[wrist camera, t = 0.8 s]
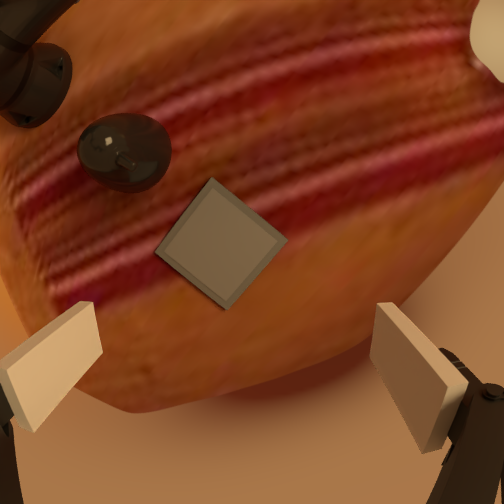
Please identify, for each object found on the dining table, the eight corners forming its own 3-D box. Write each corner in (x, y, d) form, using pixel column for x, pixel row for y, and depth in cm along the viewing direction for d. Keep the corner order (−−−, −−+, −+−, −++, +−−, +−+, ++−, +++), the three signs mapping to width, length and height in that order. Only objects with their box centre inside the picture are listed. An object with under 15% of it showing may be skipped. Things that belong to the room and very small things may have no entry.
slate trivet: (156, 251, 44) (154, 252, 43) (212, 177, 41) (211, 177, 41) (227, 308, 45) (226, 310, 44) (288, 239, 43) (288, 240, 42)
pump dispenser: (158, 206, 43) (107, 217, 28) (101, 172, 42) (37, 171, 27) (194, 140, 41) (158, 118, 26) (134, 110, 40) (79, 81, 25)
